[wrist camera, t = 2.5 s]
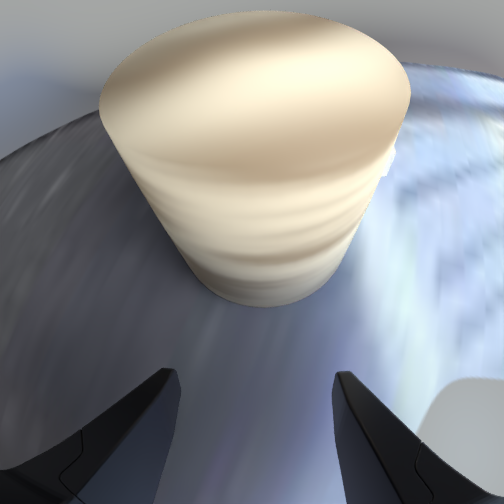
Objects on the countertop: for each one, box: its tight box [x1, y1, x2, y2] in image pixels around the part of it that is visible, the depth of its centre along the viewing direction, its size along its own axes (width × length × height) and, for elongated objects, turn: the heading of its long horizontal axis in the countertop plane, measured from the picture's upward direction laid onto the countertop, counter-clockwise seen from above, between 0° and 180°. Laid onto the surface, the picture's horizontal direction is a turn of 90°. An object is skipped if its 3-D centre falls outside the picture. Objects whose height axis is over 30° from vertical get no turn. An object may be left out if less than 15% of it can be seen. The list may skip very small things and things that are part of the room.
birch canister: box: [99, 11, 411, 308], centre depth 13 cm, size 10×10×11 cm
